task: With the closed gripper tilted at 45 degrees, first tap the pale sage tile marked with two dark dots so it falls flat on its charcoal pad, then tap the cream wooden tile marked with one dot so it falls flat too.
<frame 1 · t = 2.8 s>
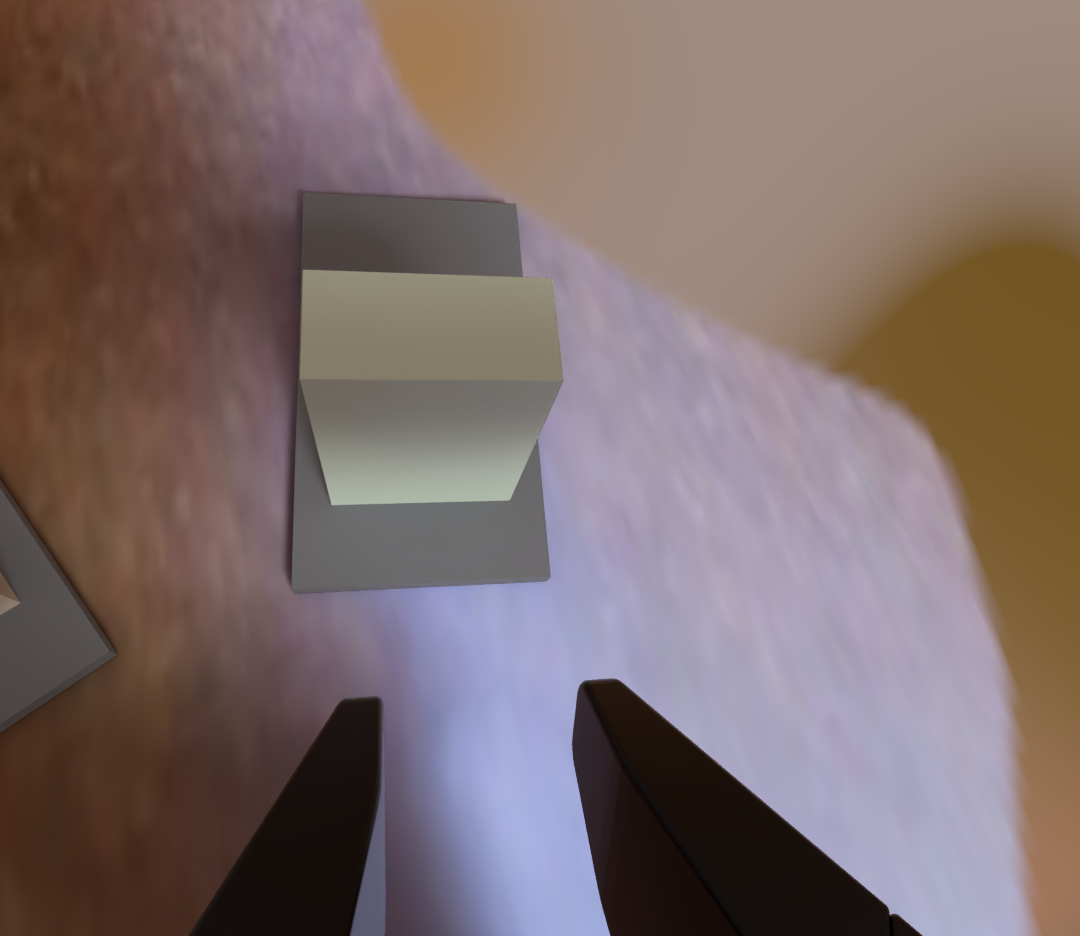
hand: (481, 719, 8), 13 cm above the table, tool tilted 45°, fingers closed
sage tile: (421, 463, 21), point 1 cm above the table, touching tap pads
tap pads: (151, 533, 20), on the table
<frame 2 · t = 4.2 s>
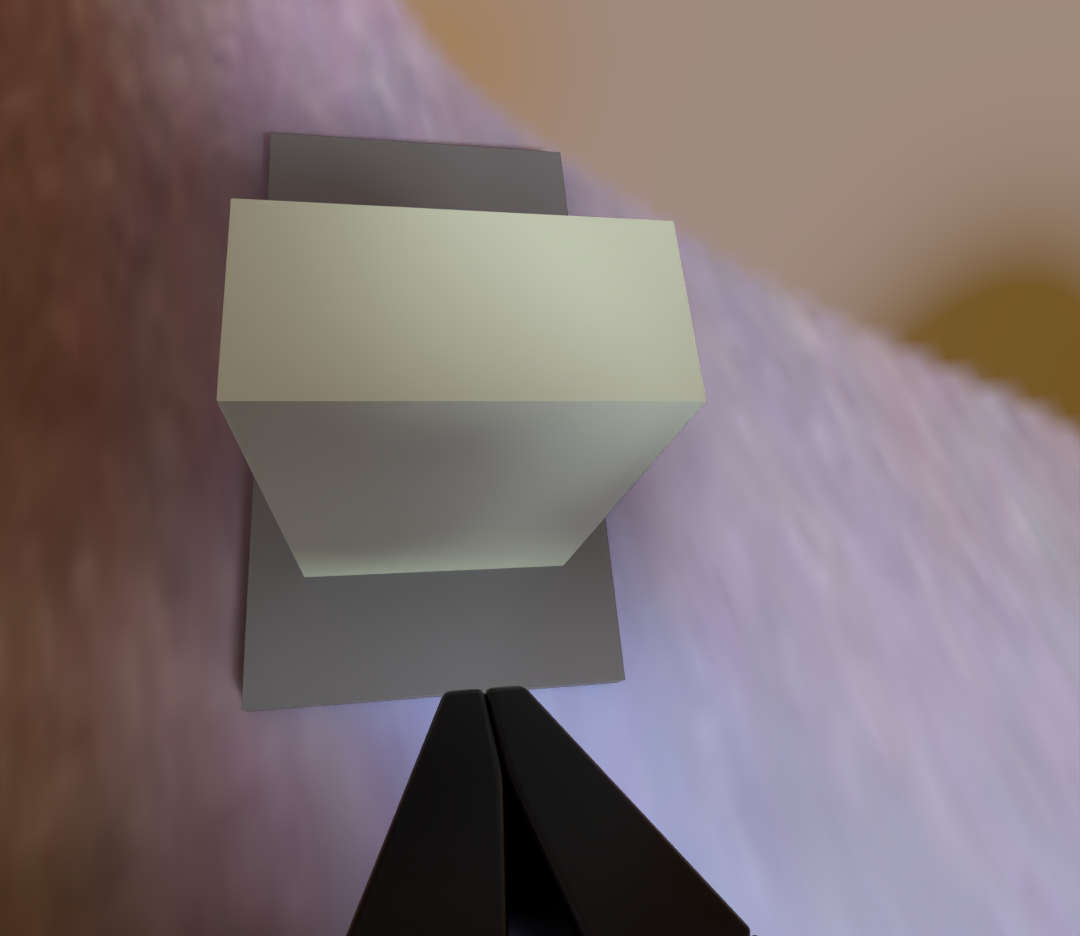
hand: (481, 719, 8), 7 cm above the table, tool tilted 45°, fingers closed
sage tile: (435, 512, 15), point 1 cm above the table, touching tap pads
tap pads: (33, 622, 13), on the table
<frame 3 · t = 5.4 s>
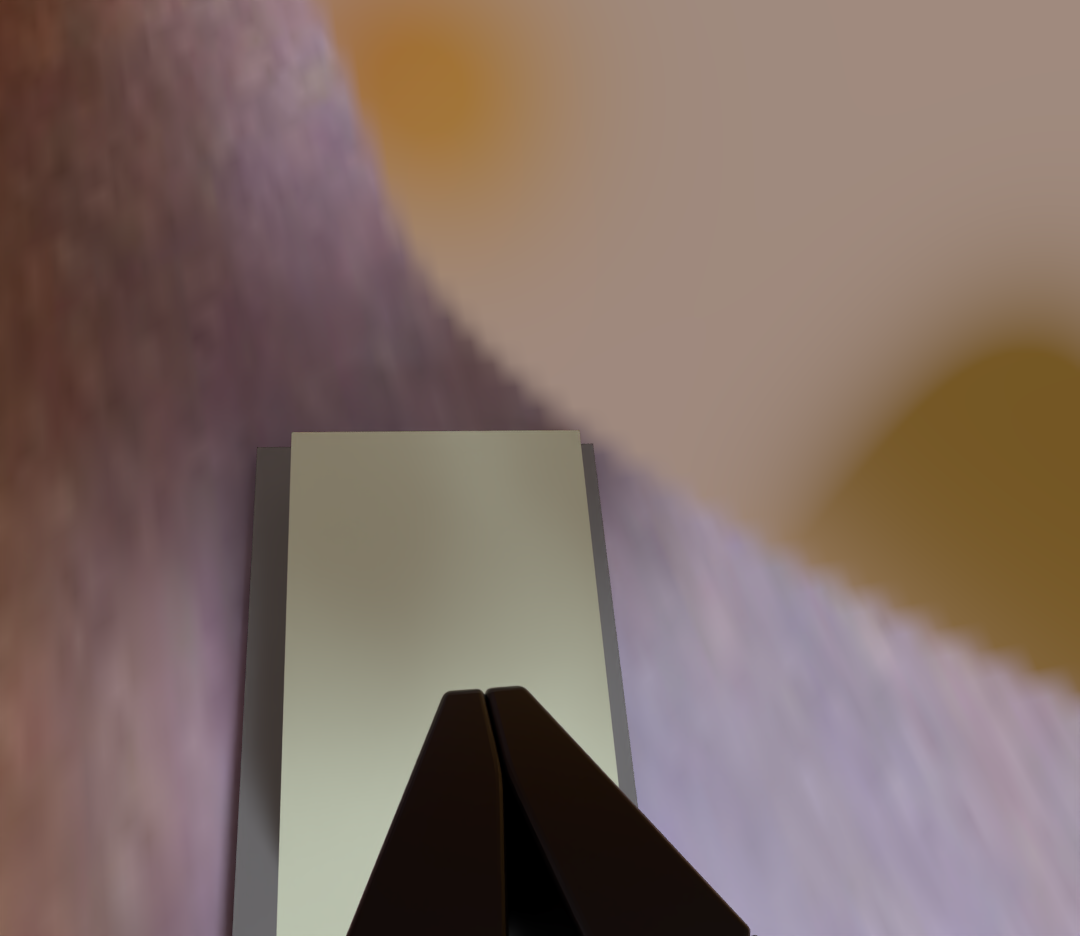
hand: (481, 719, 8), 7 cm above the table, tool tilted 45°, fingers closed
sage tile: (455, 903, 12), point 2 cm above the table, tilted 89°, touching tap pads
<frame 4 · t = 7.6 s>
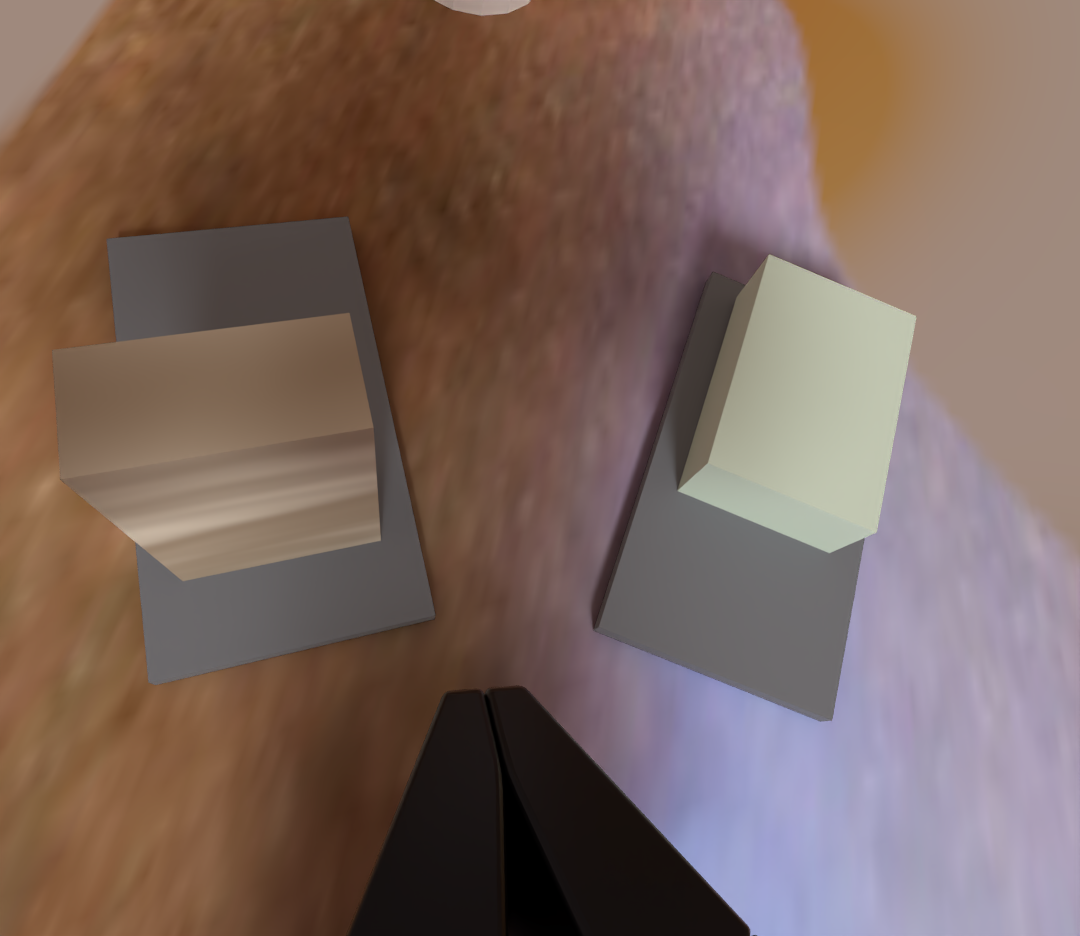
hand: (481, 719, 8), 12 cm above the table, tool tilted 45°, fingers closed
sage tile: (772, 510, 21), point 2 cm above the table, tilted 89°, touching tap pads
tap pads: (493, 522, 21), on the table
cream tile: (278, 517, 20), point 1 cm above the table, touching tap pads
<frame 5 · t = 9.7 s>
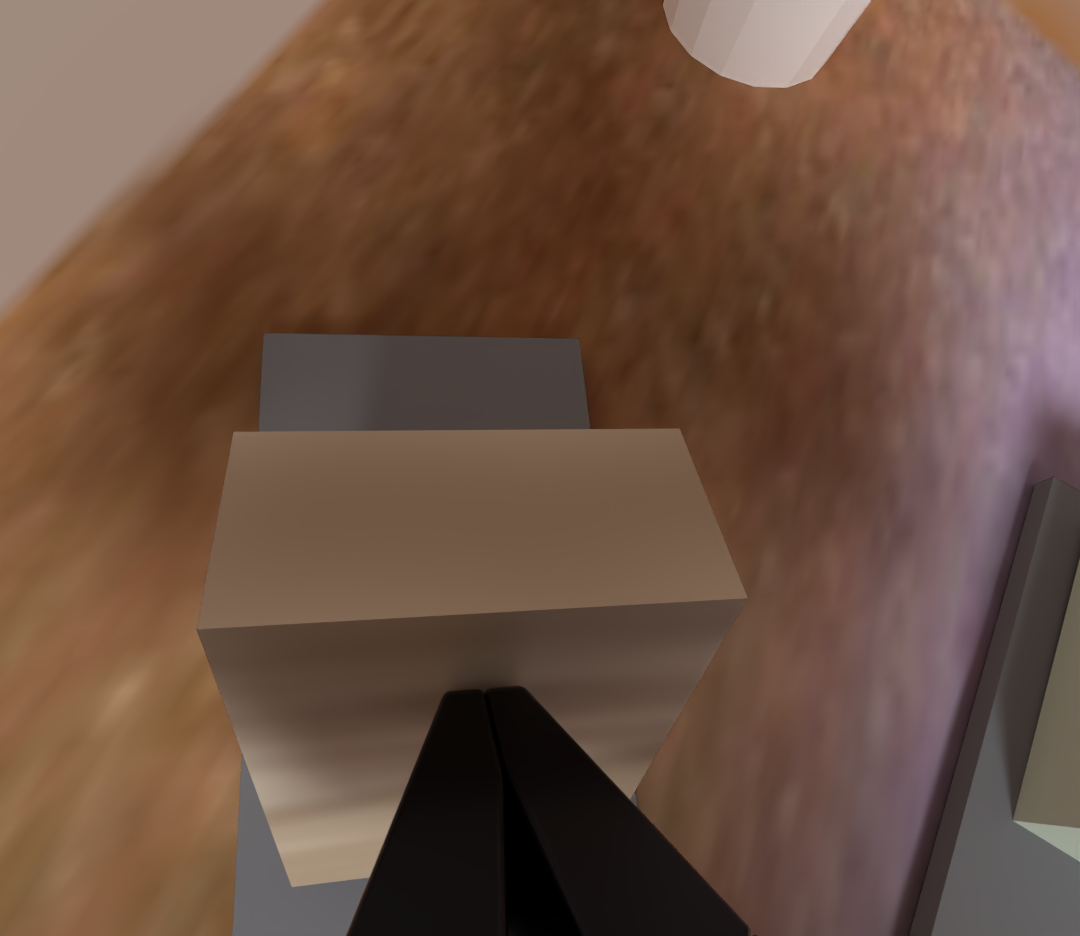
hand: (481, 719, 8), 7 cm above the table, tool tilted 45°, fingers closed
tap pads: (741, 830, 14), on the table
cream tile: (447, 792, 13), point 1 cm above the table, tilted 22°, touching tap pads
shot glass: (744, 28, 24), on the table
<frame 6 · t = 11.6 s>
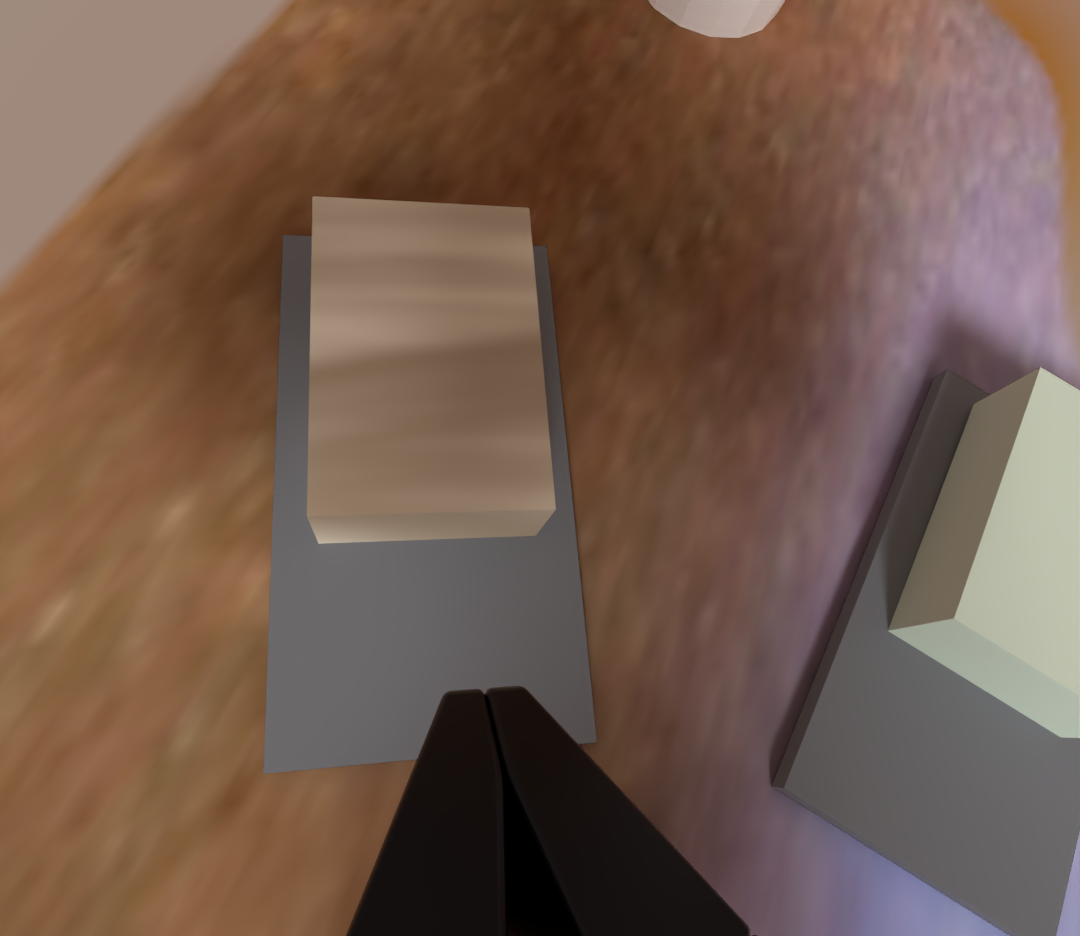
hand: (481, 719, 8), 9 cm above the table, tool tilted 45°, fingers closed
sage tile: (1010, 681, 17), point 2 cm above the table, tilted 89°, touching tap pads
tap pads: (668, 633, 18), on the table
cream tile: (432, 527, 16), point 2 cm above the table, tilted 89°, touching tap pads
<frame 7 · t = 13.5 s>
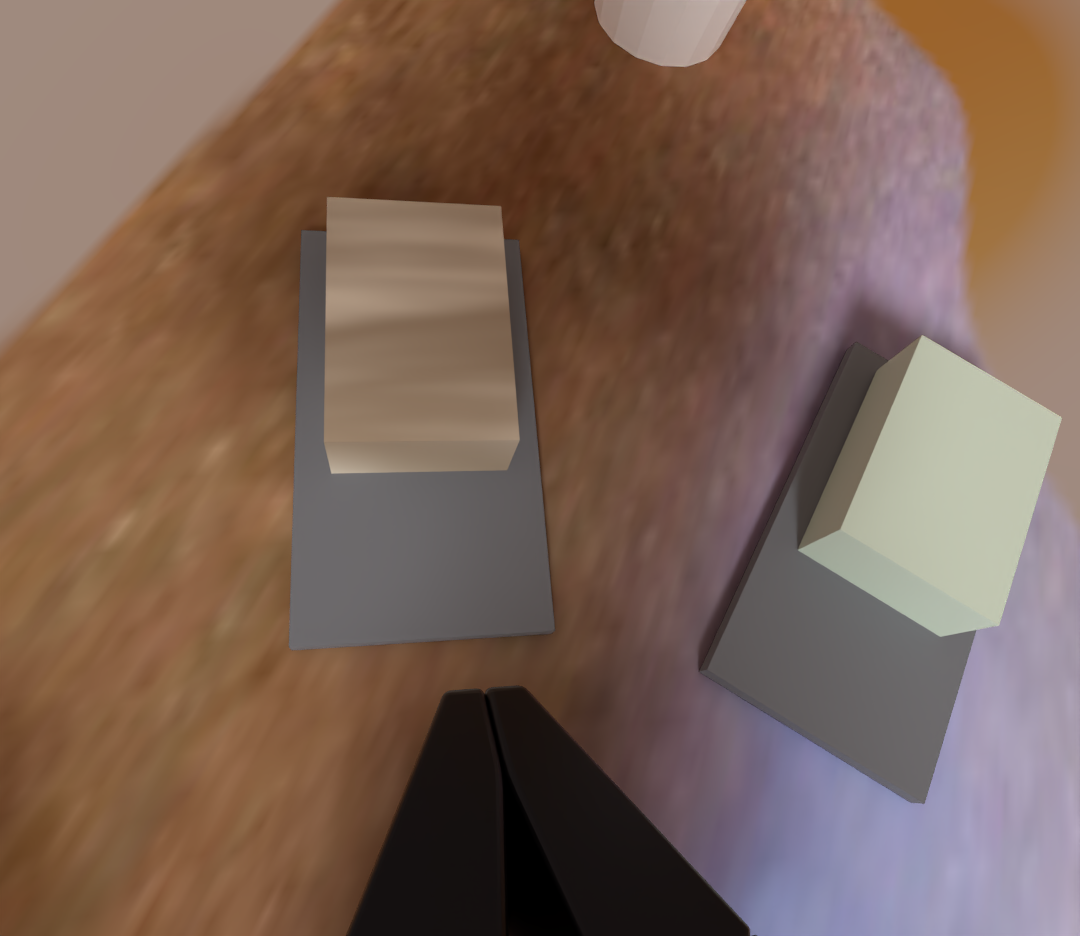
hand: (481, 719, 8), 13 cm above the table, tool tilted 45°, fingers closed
sage tile: (892, 585, 21), point 2 cm above the table, tilted 89°, touching tap pads
tap pads: (616, 551, 22), on the table
cream tile: (422, 457, 20), point 2 cm above the table, tilted 89°, touching tap pads
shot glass: (657, 21, 31), on the table
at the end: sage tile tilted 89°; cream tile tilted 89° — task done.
